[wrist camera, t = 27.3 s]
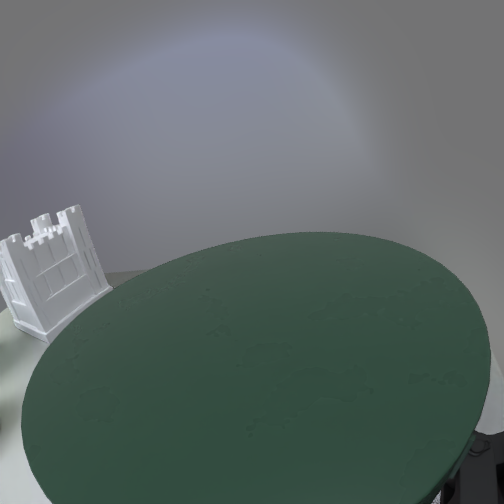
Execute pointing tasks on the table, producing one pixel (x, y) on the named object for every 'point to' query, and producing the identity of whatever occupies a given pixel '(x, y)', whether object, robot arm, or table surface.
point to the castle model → (51, 274)
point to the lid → (264, 379)
